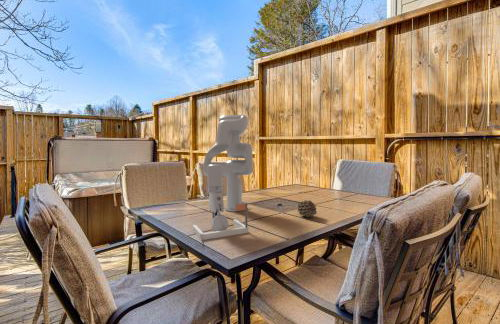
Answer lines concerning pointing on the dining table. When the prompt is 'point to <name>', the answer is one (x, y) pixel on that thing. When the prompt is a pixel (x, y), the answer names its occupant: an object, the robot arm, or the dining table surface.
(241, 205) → the white stand base
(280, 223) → the dining table surface
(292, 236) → the dining table surface
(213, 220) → the die
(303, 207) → the pine cone
